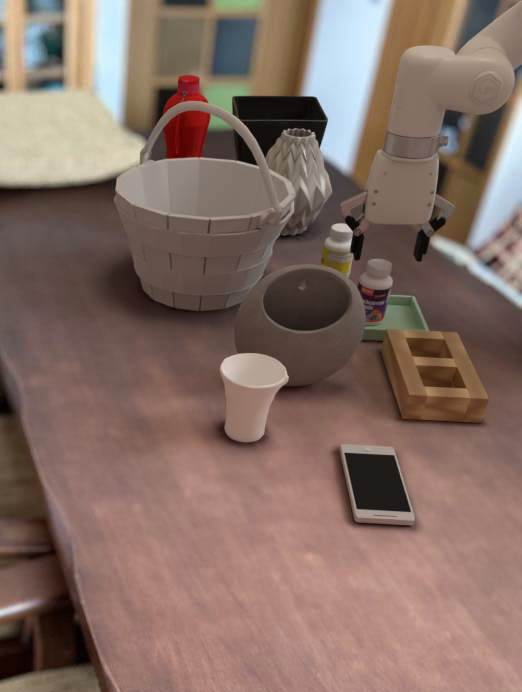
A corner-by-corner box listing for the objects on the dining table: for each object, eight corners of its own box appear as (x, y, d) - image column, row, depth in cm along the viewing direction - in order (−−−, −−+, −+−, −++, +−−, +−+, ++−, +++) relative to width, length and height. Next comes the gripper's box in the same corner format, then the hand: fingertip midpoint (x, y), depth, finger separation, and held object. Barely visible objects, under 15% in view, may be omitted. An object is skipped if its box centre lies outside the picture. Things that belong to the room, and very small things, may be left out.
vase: (238, 238, 166) (249, 140, 154) (254, 210, 178) (265, 117, 165) (319, 249, 162) (336, 149, 150) (329, 220, 174) (347, 125, 162)
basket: (198, 235, 167) (211, 69, 147) (328, 299, 146) (364, 115, 126) (72, 272, 153) (68, 94, 133) (196, 348, 132) (213, 150, 112)
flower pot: (229, 200, 182) (237, 117, 171) (224, 172, 196) (231, 94, 185) (315, 202, 181) (329, 120, 170) (304, 174, 196) (316, 96, 184)
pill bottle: (350, 324, 138) (362, 268, 131) (351, 310, 142) (363, 255, 135) (383, 328, 137) (397, 272, 130) (383, 314, 141) (396, 258, 134)
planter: (229, 395, 122) (243, 273, 109) (226, 370, 127) (240, 252, 114) (354, 399, 121) (383, 278, 109) (347, 374, 126) (374, 256, 114)
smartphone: (392, 451, 111) (393, 445, 111) (414, 526, 100) (416, 520, 99) (338, 448, 112) (340, 443, 111) (354, 522, 100) (356, 516, 100)
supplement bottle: (324, 271, 155) (333, 219, 148) (351, 278, 153) (363, 225, 146) (313, 282, 151) (323, 229, 145) (342, 289, 149) (353, 235, 143)
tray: (411, 306, 144) (414, 295, 143) (427, 343, 134) (430, 331, 133) (312, 301, 145) (314, 291, 144) (320, 337, 135) (323, 326, 134)
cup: (265, 457, 110) (276, 392, 104) (202, 437, 114) (208, 373, 107) (288, 425, 116) (300, 362, 109) (228, 406, 119) (235, 344, 113)
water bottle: (151, 210, 177) (156, 80, 160) (168, 194, 184) (175, 68, 168) (191, 217, 174) (201, 86, 157) (207, 200, 182) (218, 73, 165)
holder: (450, 355, 132) (457, 332, 129) (480, 422, 117) (489, 398, 114) (380, 351, 132) (386, 328, 129) (402, 418, 118) (409, 394, 115)
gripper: (464, 137, 123) (436, 249, 134) (347, 136, 124) (329, 247, 136) (477, 152, 117) (446, 268, 129) (354, 151, 119) (334, 266, 130)
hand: (386, 257), depth 132 cm, fingers open, 9 cm apart
